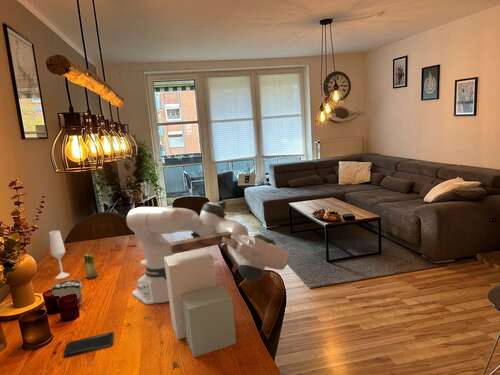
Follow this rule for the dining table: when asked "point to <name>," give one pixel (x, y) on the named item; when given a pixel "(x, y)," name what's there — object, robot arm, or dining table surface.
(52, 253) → the champagne flute
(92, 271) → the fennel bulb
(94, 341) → the phone
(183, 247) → the walnut bar
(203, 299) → the sage base
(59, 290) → the food container
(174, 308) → the white pedestal
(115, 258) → the dining table surface
